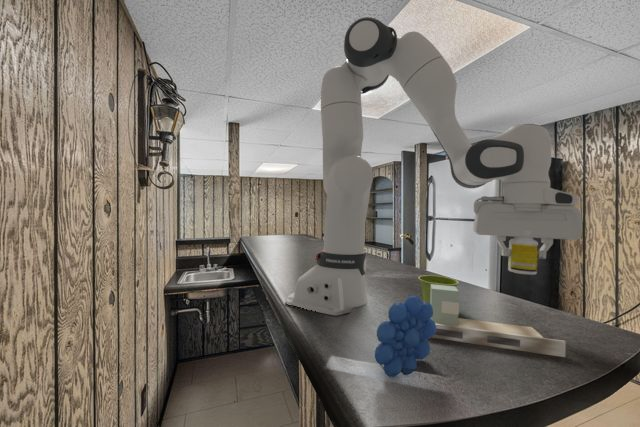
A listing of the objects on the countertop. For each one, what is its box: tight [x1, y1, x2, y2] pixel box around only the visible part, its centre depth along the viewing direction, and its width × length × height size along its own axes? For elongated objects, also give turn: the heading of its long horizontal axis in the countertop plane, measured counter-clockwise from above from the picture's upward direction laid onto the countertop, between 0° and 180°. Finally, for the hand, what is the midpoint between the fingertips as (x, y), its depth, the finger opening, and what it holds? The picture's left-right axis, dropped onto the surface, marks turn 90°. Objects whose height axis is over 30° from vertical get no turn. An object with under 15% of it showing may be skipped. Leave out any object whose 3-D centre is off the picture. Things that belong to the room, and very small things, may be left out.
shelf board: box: [431, 317, 567, 358], centre depth 56 cm, size 22×13×4 cm, turn 72°
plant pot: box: [418, 274, 460, 303], centre depth 70 cm, size 9×9×9 cm
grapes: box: [374, 295, 436, 378], centre depth 44 cm, size 12×7×12 cm, turn 116°
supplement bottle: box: [507, 230, 539, 276], centre depth 63 cm, size 5×5×10 cm
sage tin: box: [430, 284, 460, 326], centre depth 58 cm, size 4×5×8 cm
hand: (522, 257), depth 63 cm, fingers closed on supplement bottle, 5 cm apart
